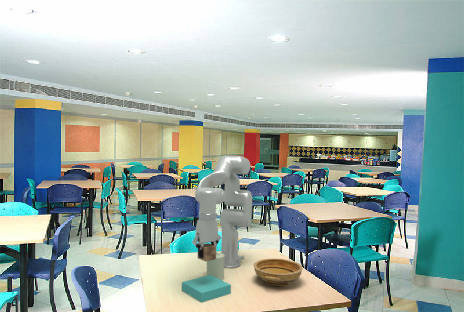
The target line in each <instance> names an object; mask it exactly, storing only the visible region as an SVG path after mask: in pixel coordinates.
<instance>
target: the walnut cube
mask: <svg viewBox="0 0 464 312" xmlns="http://www.w3.org/2000/svg"><path fill="white" fill-rule="evenodd" d="M202 249H203V258H199V257H198V256H197V259H199V260H201V261H203V262H207V261H210V260H214V259H216V253H217V247H216V246H215V245H212V244H211V243H210V242H208V243H204V245H203V248H202Z"/></svg>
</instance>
